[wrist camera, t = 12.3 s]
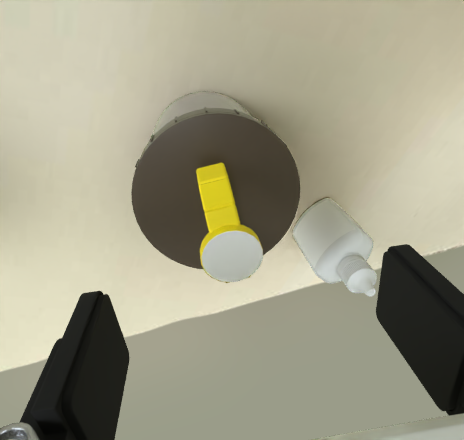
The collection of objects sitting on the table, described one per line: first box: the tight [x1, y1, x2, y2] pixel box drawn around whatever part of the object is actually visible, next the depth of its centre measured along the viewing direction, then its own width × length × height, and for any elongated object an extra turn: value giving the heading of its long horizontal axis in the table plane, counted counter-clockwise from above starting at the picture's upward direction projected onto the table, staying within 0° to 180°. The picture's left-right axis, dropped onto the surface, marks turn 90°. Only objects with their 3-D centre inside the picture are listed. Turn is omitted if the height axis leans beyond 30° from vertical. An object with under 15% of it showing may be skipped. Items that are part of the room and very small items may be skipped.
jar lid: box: [132, 107, 300, 269], centre depth 21 cm, size 10×10×2 cm
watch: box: [196, 163, 263, 283], centre depth 17 cm, size 6×3×6 cm, turn 12°
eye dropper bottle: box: [293, 198, 377, 297], centre depth 30 cm, size 4×6×12 cm
